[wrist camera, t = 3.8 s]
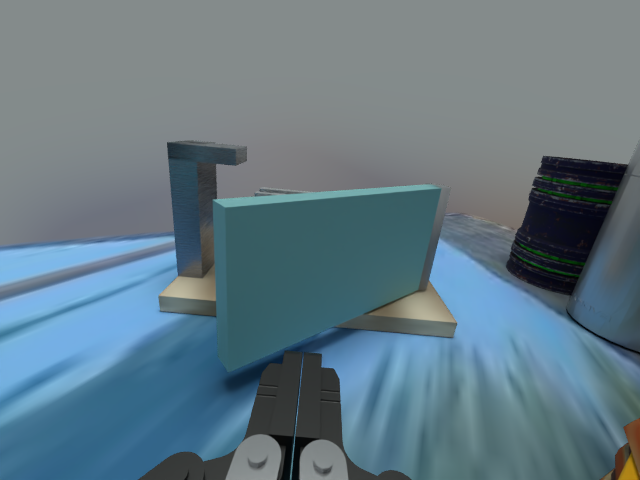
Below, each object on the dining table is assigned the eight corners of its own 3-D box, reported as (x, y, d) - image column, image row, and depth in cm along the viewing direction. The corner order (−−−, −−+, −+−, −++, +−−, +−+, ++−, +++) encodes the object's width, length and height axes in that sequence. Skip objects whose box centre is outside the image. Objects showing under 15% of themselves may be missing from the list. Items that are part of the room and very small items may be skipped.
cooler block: (368, 249, 39) (384, 154, 35) (384, 295, 29) (409, 165, 24) (219, 235, 39) (216, 138, 35) (178, 276, 28) (166, 142, 24)
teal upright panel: (412, 277, 32) (433, 183, 28) (431, 286, 30) (455, 187, 27) (216, 353, 19) (210, 198, 16) (230, 375, 18) (227, 209, 14)
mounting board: (403, 254, 43) (405, 244, 42) (453, 337, 26) (457, 322, 25) (226, 238, 42) (226, 228, 42) (160, 311, 26) (158, 295, 25)
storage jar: (522, 287, 36) (569, 160, 31) (494, 256, 45) (527, 154, 40) (615, 302, 35) (681, 171, 30) (567, 267, 44) (611, 162, 39)
